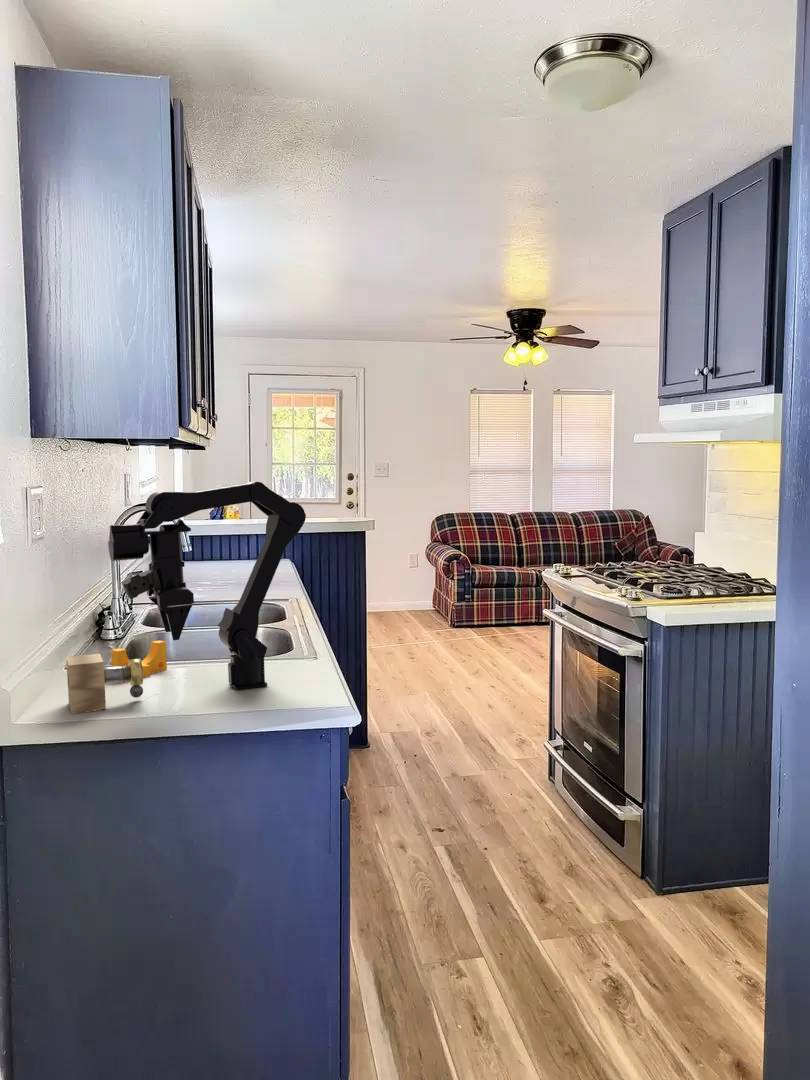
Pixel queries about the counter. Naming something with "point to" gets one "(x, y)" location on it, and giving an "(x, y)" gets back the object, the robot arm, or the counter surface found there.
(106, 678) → the tan and grey piece
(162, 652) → the pipe clamp
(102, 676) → the oak block
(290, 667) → the counter surface
